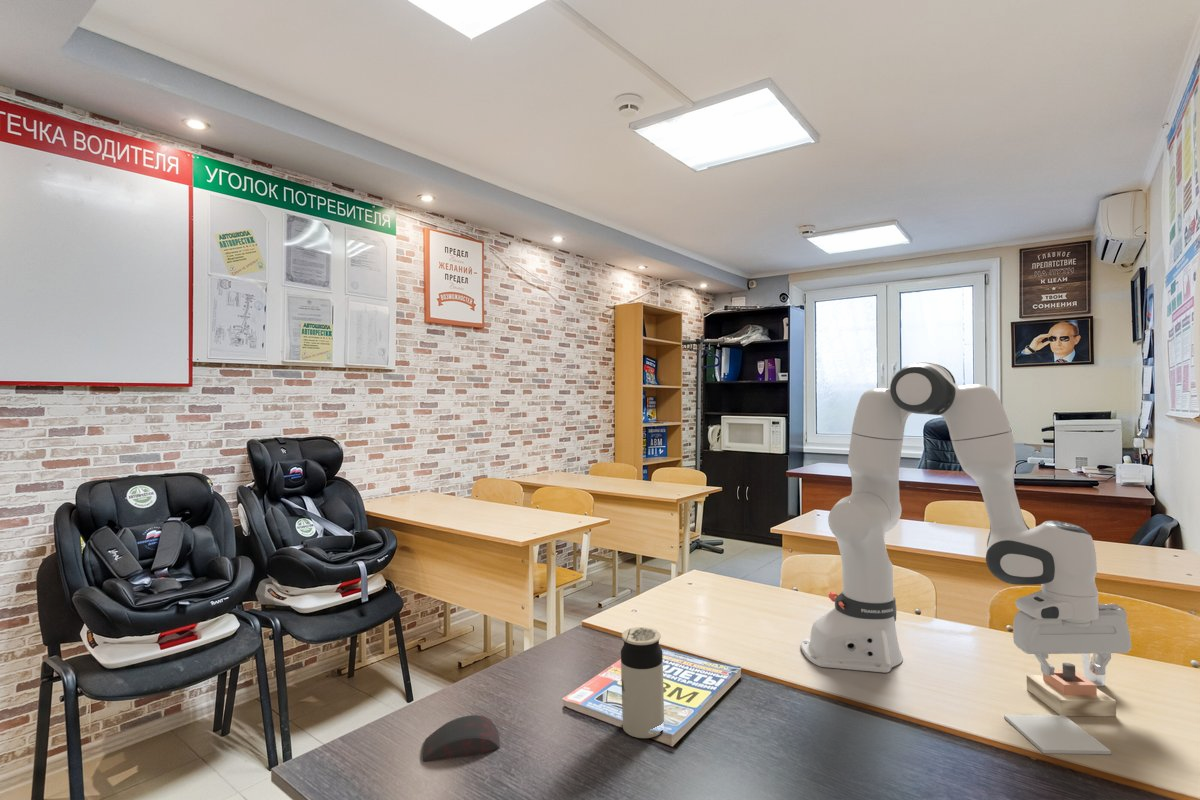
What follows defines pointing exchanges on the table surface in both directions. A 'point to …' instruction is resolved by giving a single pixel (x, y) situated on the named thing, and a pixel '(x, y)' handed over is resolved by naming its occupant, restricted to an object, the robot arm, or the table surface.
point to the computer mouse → (461, 738)
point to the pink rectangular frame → (1071, 684)
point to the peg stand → (1071, 697)
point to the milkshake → (1088, 674)
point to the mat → (1056, 734)
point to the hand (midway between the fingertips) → (1072, 673)
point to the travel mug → (642, 681)
